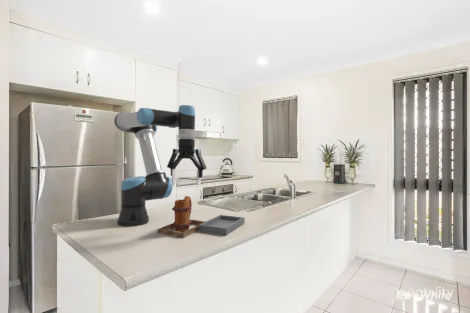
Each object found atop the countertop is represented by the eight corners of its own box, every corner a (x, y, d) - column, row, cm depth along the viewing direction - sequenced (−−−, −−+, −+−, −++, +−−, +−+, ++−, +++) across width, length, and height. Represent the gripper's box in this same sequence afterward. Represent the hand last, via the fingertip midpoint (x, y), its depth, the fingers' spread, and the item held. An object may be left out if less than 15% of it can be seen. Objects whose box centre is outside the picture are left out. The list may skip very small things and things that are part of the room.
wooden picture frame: (157, 233, 112) (157, 229, 112) (184, 222, 130) (184, 218, 130) (183, 237, 106) (183, 233, 106) (207, 225, 125) (207, 221, 125)
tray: (199, 231, 116) (199, 224, 115) (220, 220, 135) (220, 214, 135) (226, 235, 110) (226, 228, 110) (244, 223, 129) (244, 217, 129)
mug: (186, 234, 110) (186, 200, 110) (168, 233, 112) (168, 200, 112) (197, 225, 125) (197, 195, 125) (182, 224, 126) (182, 194, 126)
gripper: (159, 138, 119) (159, 183, 120) (206, 138, 110) (205, 186, 111) (169, 139, 126) (169, 181, 127) (213, 139, 117) (213, 184, 118)
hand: (186, 183), depth 119 cm, fingers open, 13 cm apart
